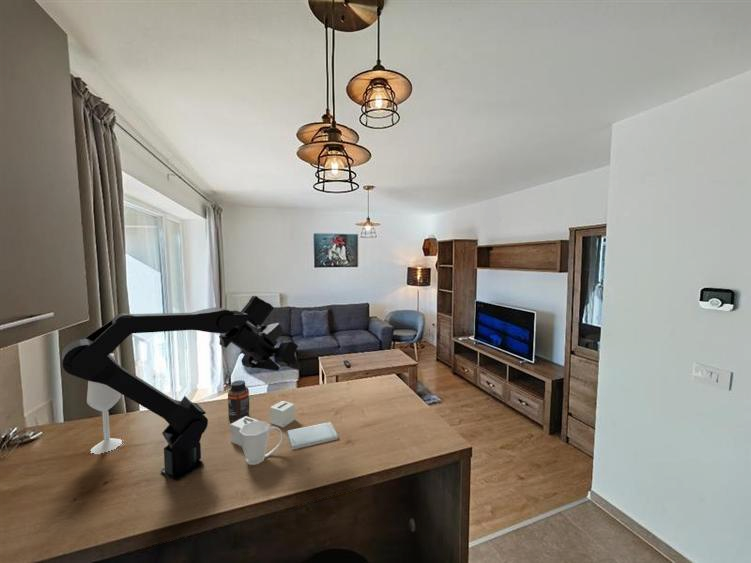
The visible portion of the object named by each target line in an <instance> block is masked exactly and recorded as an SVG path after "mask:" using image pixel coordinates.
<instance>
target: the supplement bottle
mask: <svg viewBox="0 0 751 563" xmlns="http://www.w3.org/2000/svg"><path fill="white" fill-rule="evenodd" d="M227 406H228V407H227V408H228V409H227V411H228V421H229V422H231V423H234V422H236V421H238V420H239V419H241V418H243V417H245V416H247V417H250V416H251V414H250V413H251V412H250V390H249V388H248V387H247V386H246V381H245V380H244V379H242V380H241V379H239V380H235V381H232V382H231V383H230V389H229V390H228V391H227Z"/></svg>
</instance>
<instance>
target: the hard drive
mask: <svg viewBox="0 0 751 563" xmlns="http://www.w3.org/2000/svg"><path fill="white" fill-rule="evenodd" d="M286 433H287V437H288V442H289V444H290V449H291V451H293V450H297V449H302V448H305V447H310V446H314V445H318V444H323V443H327V442H333V441H336V440H339V435H338V433H337V432H336V430H335V427H334V426H333V423H331V422H330V421H328V422H323V423H319V424H314V425H309V426H303V427H298V428H293V429H289V430H287V432H286Z"/></svg>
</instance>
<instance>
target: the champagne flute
mask: <svg viewBox="0 0 751 563" xmlns="http://www.w3.org/2000/svg"><path fill="white" fill-rule="evenodd" d="M109 355H110V356H111V357H112V358H113V359H114V360H115V361H116V357H115V353H113V352H112V353H110V354H109ZM121 397H122V394H121V393H119V392H117V391H116V390H114V389H112V388H111V387H109V386H107V385H104V384H100V383H96V382H91V381H88V382H87V394H86V403H87V405H88V406H89V407H91V408H92V409H94V410H96V411H99V412H102V427H103V428H102V429H103V440H102V441H100V442H99V443H97V444H96V445H94V446H92V448H91V449H90V451H91V452H90V454H92V453H94V454H93V455H102V454H101V453H103V454H105V453H104V452H107V453H109V452H108V451H110V452H112V451H111V450H113V451H115V450H117V449H118V448H117V447H118V446H120V445H121V444H122V440H123V439H122V438H115V437H114V438H112V437H111V435H110V434H111V433H110V430H111V429H110V414H109V410H110V409H111V408H113V407H114V406H115V405H116V404H117V403H118V402H119V400H120V399H121ZM121 439H122V440H121ZM122 445H123V444H122ZM122 445H121V446H122ZM121 446H120V447H121ZM116 448H117V449H116ZM114 449H115V450H114Z"/></svg>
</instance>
